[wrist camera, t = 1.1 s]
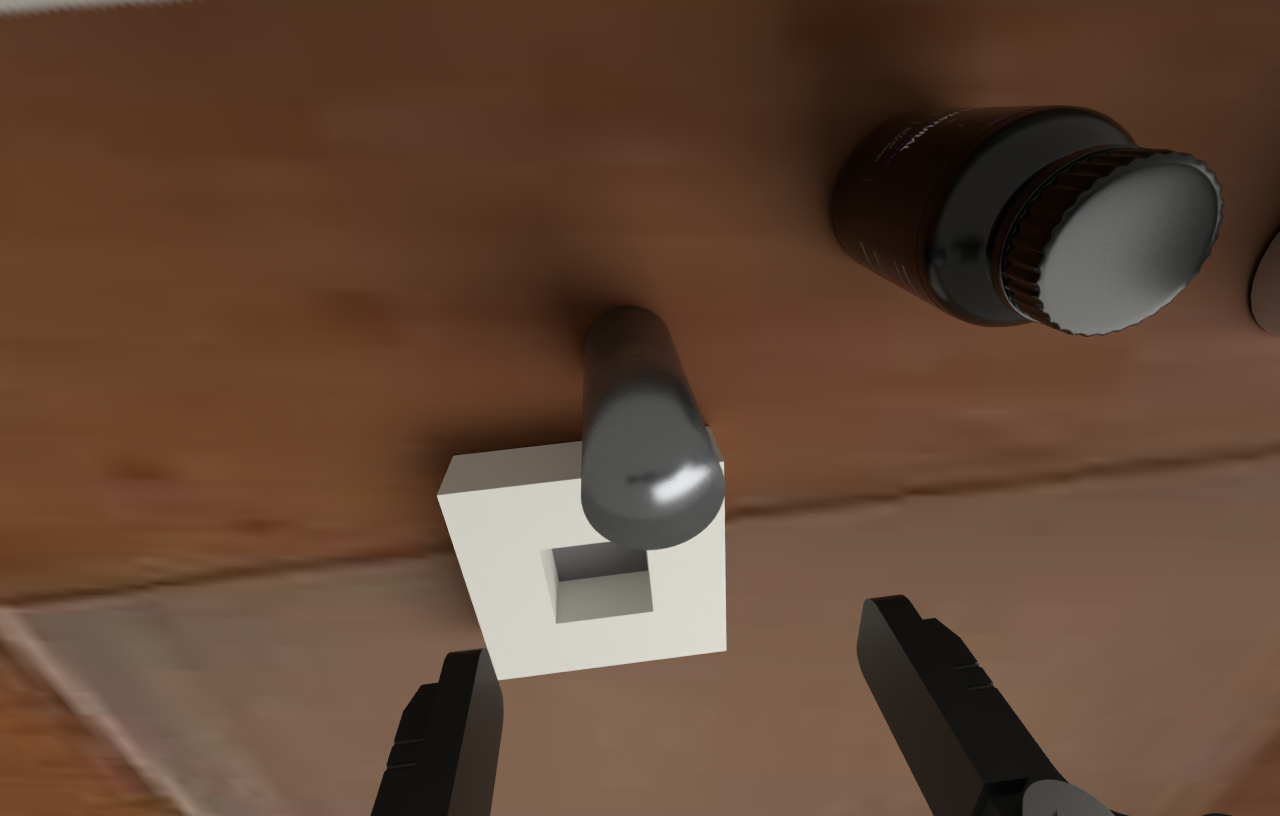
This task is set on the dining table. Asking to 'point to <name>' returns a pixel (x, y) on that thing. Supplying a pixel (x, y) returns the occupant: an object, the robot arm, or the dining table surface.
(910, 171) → the supplement bottle
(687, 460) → the graphite peg
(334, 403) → the dining table surface
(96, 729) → the dining table surface
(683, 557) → the socket block
